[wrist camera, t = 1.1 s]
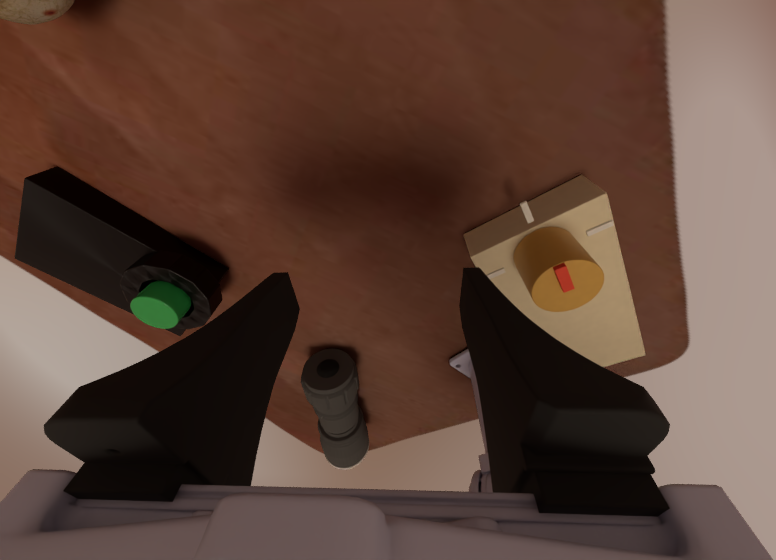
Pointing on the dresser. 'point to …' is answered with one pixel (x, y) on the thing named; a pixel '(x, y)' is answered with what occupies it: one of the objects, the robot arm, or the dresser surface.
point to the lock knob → (557, 270)
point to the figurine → (33, 10)
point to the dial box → (599, 238)
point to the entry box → (109, 247)
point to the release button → (161, 305)
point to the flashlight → (336, 407)
